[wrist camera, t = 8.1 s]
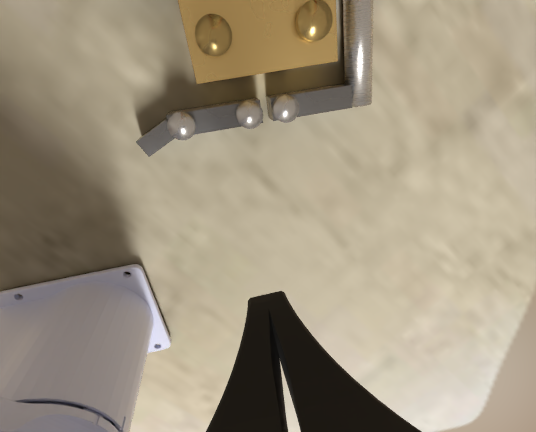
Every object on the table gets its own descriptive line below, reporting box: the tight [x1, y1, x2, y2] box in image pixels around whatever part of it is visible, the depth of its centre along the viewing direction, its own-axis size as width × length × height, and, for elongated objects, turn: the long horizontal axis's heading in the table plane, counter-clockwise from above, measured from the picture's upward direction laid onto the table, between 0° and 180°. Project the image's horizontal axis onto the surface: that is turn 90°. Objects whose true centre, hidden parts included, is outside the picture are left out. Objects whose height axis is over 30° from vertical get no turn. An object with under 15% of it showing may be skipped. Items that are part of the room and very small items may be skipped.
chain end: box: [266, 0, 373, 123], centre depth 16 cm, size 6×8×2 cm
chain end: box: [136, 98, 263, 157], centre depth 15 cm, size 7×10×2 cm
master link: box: [178, 0, 338, 84], centre depth 15 cm, size 7×4×4 cm, turn 98°
